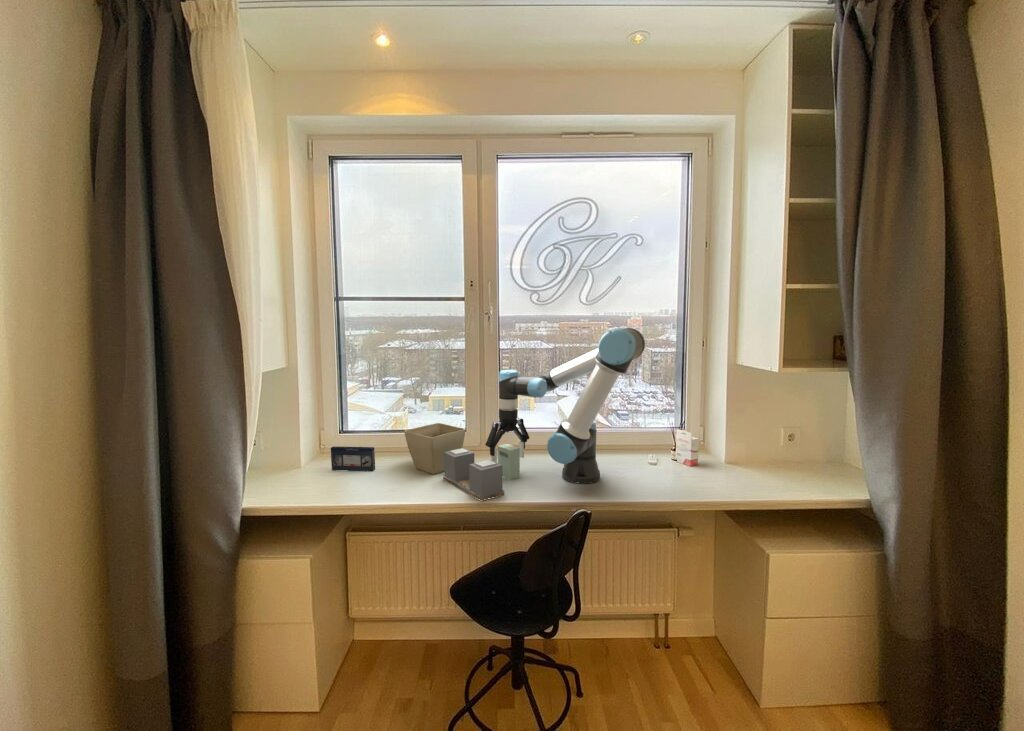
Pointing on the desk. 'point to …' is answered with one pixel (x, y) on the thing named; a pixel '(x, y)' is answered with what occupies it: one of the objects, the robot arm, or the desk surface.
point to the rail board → (465, 487)
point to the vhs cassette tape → (353, 458)
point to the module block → (509, 461)
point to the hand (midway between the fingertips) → (507, 460)
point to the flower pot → (433, 445)
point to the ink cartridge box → (686, 448)
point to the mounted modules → (474, 472)
